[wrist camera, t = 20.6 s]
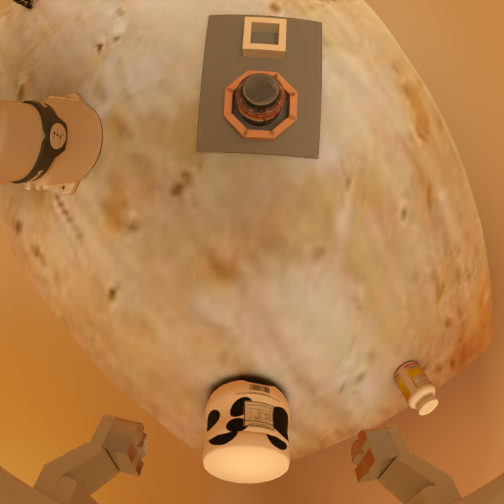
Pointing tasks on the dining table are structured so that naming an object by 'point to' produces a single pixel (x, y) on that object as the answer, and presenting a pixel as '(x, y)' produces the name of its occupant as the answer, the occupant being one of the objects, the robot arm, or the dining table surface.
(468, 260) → the dining table surface
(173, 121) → the dining table surface
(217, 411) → the milk container
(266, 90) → the supplement bottle
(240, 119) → the socket board
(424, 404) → the supplement bottle
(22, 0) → the valve
